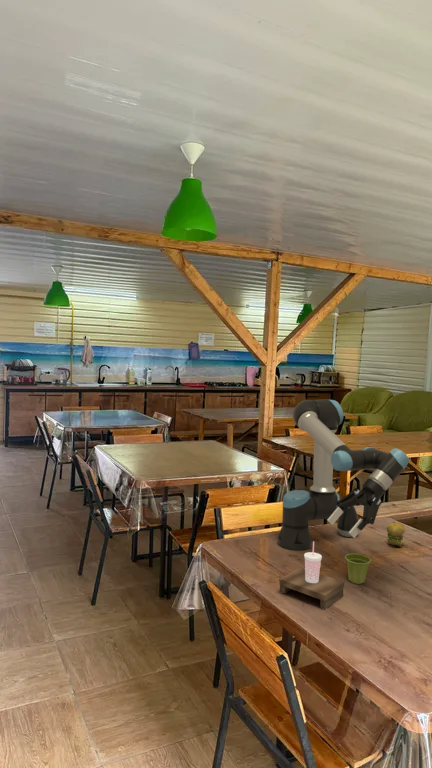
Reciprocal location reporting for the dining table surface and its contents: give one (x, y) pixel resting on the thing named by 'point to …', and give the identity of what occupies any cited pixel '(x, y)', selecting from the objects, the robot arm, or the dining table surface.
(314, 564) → the beverage cup
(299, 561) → the dining table surface
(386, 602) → the dining table surface
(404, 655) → the dining table surface
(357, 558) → the plant pot
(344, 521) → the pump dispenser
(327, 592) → the walnut shelf
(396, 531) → the hamburger
